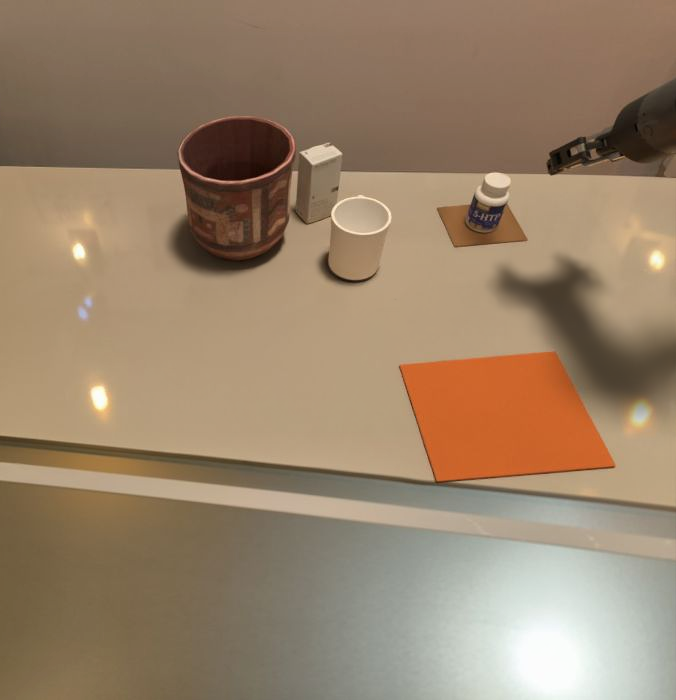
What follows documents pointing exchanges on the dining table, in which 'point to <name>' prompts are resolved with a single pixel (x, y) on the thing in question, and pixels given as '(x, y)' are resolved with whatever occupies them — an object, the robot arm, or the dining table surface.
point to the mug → (357, 237)
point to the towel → (502, 417)
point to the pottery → (237, 184)
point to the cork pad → (467, 237)
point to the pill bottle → (488, 203)
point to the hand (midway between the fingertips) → (580, 161)
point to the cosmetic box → (318, 182)
